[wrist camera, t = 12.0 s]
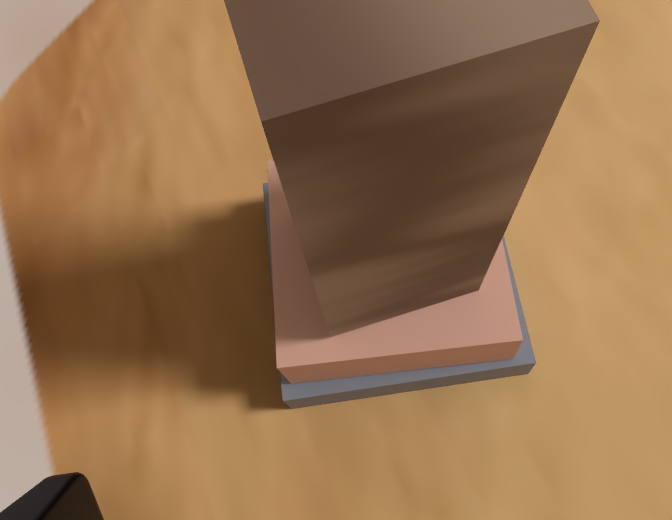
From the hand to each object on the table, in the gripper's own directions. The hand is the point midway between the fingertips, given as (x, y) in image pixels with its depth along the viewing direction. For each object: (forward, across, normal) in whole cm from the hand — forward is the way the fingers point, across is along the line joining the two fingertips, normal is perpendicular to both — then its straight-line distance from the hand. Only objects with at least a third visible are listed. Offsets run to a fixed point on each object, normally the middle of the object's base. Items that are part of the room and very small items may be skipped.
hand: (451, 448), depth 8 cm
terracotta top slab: (+14, 0, +3) cm, 14 cm away
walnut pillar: (+12, 0, +2) cm, 12 cm away
